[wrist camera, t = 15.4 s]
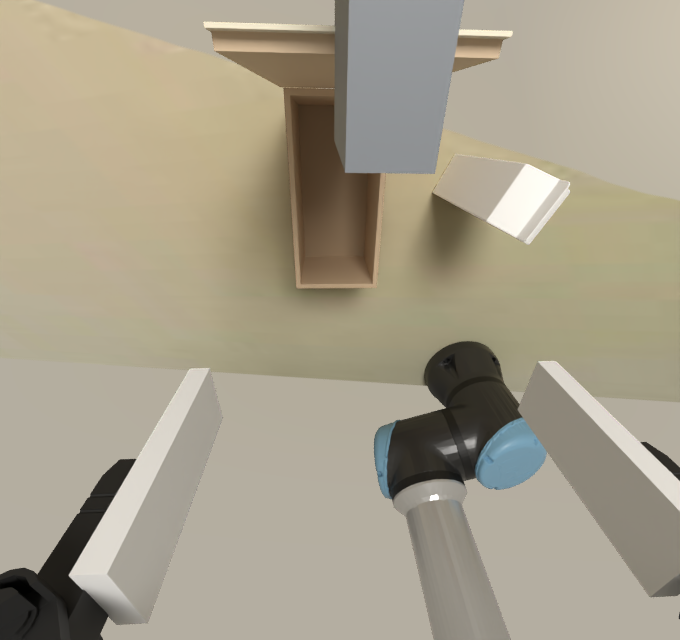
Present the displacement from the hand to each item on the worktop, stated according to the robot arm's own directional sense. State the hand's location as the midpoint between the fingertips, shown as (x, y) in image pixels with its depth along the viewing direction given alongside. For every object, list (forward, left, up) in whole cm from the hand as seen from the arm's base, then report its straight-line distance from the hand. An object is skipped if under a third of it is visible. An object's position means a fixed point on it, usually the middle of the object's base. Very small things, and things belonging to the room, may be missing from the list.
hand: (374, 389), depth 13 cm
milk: (+3, -18, -42) cm, 46 cm away
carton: (+2, +1, -41) cm, 41 cm away
